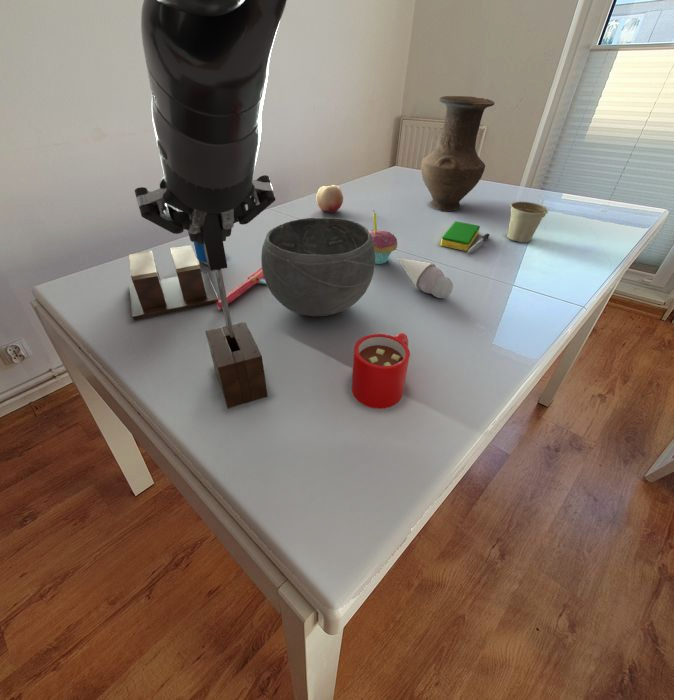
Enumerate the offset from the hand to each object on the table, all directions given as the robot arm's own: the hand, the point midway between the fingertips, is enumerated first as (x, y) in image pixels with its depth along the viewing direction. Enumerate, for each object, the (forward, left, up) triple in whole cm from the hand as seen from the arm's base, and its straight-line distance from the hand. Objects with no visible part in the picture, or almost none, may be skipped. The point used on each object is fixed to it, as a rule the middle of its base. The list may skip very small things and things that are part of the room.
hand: (209, 235), depth 46 cm
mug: (+22, -6, -23) cm, 33 cm away
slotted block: (-13, +27, -23) cm, 38 cm away
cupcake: (+34, +36, -23) cm, 55 cm away
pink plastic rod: (+4, +29, -23) cm, 37 cm away
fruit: (+29, +72, -23) cm, 81 cm away
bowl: (+16, +18, -23) cm, 34 cm away
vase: (+68, +71, -23) cm, 101 cm away
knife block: (0, -2, -23) cm, 23 cm away
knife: (+62, +38, -23) cm, 77 cm away
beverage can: (-6, +43, -23) cm, 49 cm away
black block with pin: (0, -2, -13) cm, 13 cm away
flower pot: (+77, +42, -23) cm, 91 cm away
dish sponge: (+60, +44, -23) cm, 78 cm away
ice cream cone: (+39, +21, -23) cm, 50 cm away
